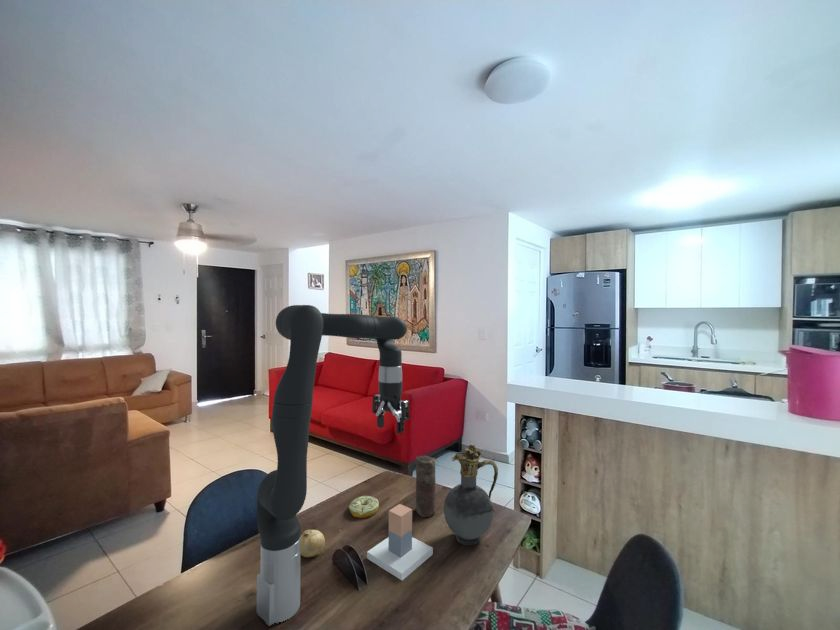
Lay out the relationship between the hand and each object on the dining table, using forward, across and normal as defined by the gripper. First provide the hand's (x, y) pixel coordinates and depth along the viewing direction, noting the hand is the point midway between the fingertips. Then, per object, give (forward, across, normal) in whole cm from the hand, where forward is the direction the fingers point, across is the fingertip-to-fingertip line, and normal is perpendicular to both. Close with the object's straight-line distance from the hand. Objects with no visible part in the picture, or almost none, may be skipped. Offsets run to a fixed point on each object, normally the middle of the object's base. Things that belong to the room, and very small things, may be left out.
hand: (390, 430), depth 115 cm
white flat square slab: (+36, +7, -3) cm, 37 cm away
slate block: (+34, +7, -3) cm, 35 cm away
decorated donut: (+36, -20, +7) cm, 42 cm away
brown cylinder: (+36, -2, +21) cm, 42 cm away
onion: (+36, -14, -19) cm, 43 cm away
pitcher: (+36, +19, +19) cm, 45 cm away
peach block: (+28, +7, -3) cm, 29 cm away
